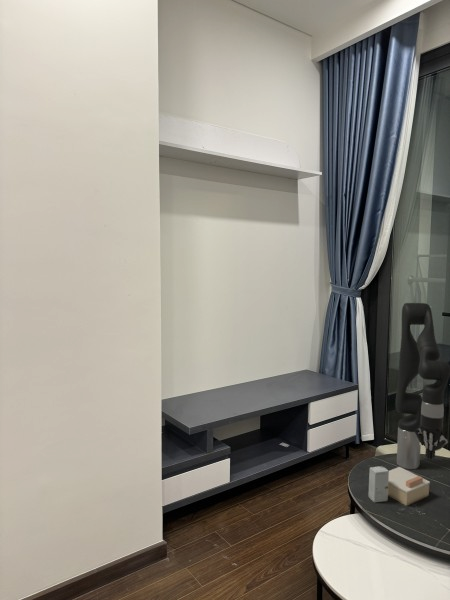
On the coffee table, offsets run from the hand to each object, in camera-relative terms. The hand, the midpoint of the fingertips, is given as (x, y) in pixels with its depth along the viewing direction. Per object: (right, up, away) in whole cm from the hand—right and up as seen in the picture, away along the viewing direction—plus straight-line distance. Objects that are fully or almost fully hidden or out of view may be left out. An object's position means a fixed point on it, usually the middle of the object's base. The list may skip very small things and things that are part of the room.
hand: (429, 458), depth 158 cm
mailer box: (-6, -18, +11) cm, 22 cm away
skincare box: (-17, -19, +7) cm, 26 cm away
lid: (-6, -13, +11) cm, 18 cm away
